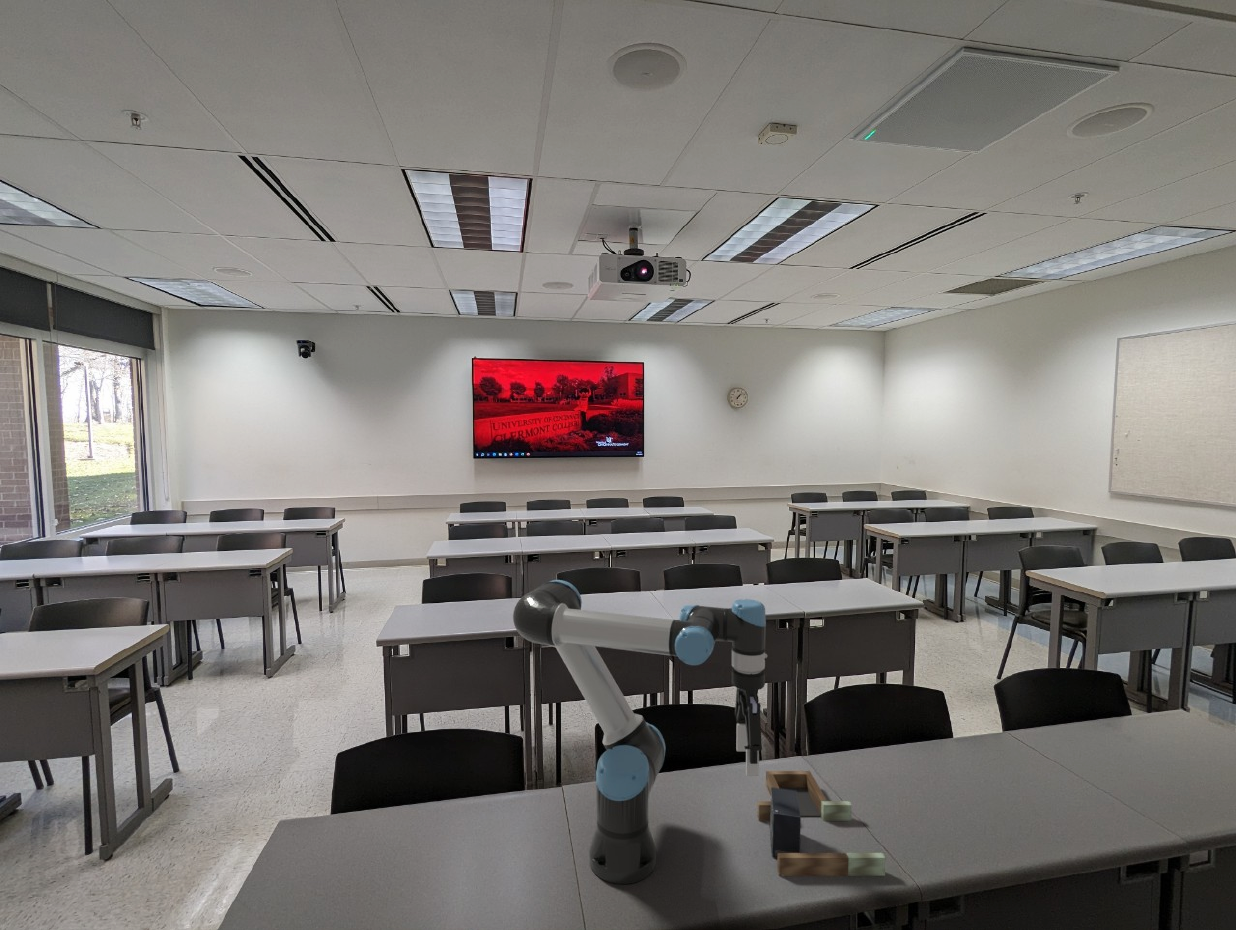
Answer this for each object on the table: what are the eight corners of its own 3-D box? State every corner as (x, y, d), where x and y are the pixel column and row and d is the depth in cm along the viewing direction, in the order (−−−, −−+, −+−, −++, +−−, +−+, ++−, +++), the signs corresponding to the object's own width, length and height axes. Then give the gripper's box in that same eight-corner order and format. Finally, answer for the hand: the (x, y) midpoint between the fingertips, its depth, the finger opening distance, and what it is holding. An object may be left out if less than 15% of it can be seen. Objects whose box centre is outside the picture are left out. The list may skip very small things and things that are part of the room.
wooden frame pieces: (779, 875, 129) (779, 857, 129) (745, 785, 162) (745, 771, 162) (885, 875, 129) (885, 857, 129) (829, 785, 163) (829, 771, 162)
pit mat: (785, 816, 149) (785, 815, 149) (772, 788, 161) (772, 787, 161) (821, 816, 149) (821, 815, 149) (805, 788, 161) (805, 787, 161)
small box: (801, 862, 133) (802, 817, 133) (771, 858, 135) (772, 813, 134) (796, 831, 144) (797, 789, 143) (769, 828, 145) (769, 786, 144)
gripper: (777, 688, 126) (776, 791, 127) (753, 650, 148) (752, 738, 149) (742, 688, 126) (741, 791, 127) (723, 650, 148) (722, 738, 149)
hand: (747, 762), depth 138 cm, fingers open, 10 cm apart
